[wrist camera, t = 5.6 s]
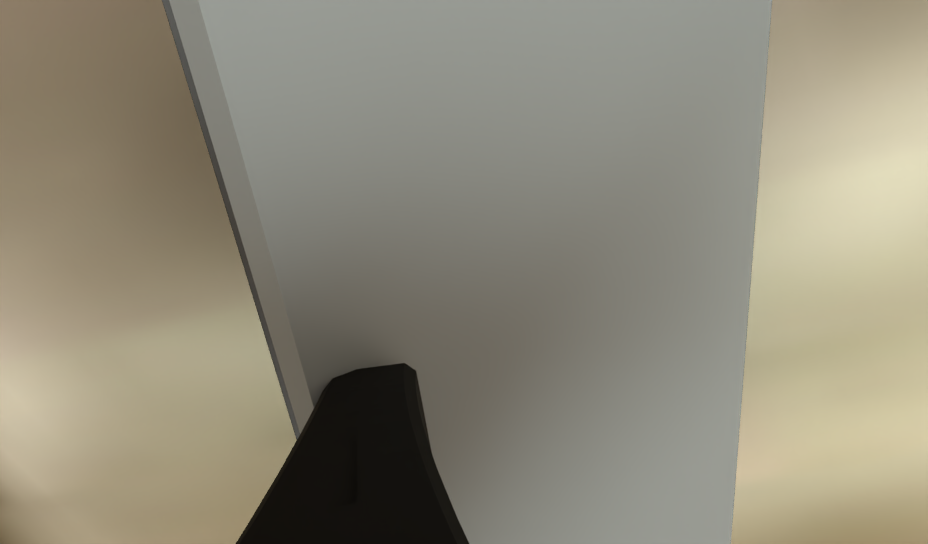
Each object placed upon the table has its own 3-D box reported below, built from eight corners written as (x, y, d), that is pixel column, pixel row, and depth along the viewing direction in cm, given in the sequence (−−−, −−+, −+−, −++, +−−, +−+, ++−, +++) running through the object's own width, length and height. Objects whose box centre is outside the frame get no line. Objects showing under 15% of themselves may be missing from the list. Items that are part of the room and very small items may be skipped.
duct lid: (705, 552, 18) (728, 567, 18) (419, 830, 14) (442, 859, 14) (765, -594, 9) (818, -617, 8) (-58, -753, 5) (-32, -813, 4)
